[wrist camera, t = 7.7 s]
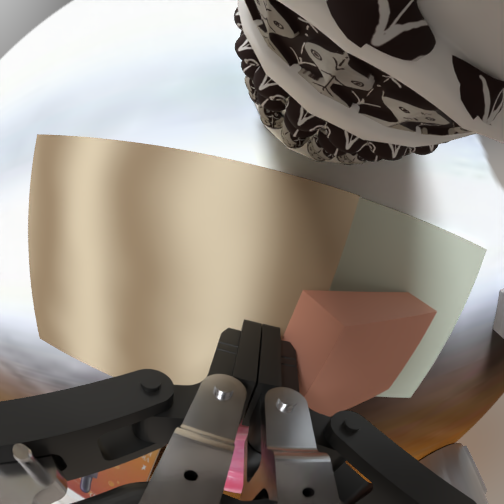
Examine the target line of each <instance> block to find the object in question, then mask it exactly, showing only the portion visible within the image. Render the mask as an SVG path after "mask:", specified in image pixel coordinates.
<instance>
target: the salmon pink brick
mask: <svg viewBox="0 0 504 504" xmlns="http://www.w3.org/2000/svg"><path fill="white" fill-rule="evenodd" d="M436 313H437V311H436V310H434V309H433V308H431V307H430V306H428V305H427V304H425V303H424V302H422V301H421V300H419V299H418V298H416V297H415V296H413V295H412V294H410V293H409V292H353V291H319V290H303V291H302V293H301V296H300V298H299V300H298V303H297V305H296V307H295V310H294V312H293V315H292V317H291V319H290V321H289V324H288V326H287V328H286V331H285V333H284V335H283V337H282V340H283V341H288V342H290V343H291V344H292V346H293V347H294V349H295V350H296V361H297V370H298V381H299V392H300V394H301V395H302V396H304V398H305V399H306V401H307V404H308V407H309V408H310V409H312V410H313V411H315V412H318V413H320V414H323V415H326V416H329V417H330V416H332V415H334V414H335V413H337V412H339V411H344V410H347V409H349V408H351V407H353V406H356V405H358V404H360V403H362V402H364V401H366V400H368V399H371V398H373V397H375V396H377V395H379V394H381V393H382V392H384V391H386V390H388V389H389V388H390V387H391V385H392V384H393V382H394V381H395V380H396V378H397V377H398V375H399V374H400V373H401V371H402V370H403V368H404V367H405V365H406V364H407V362H408V361H409V359H410V357H411V356H412V354H413V353H414V351H415V350H416V348H417V346H418V345H419V343H420V341H421V340H422V338H423V336H424V335H425V333H426V331H427V329H428V328H429V326H430V324H431V322H432V320H433V318H434V317H435V315H436Z"/></svg>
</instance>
